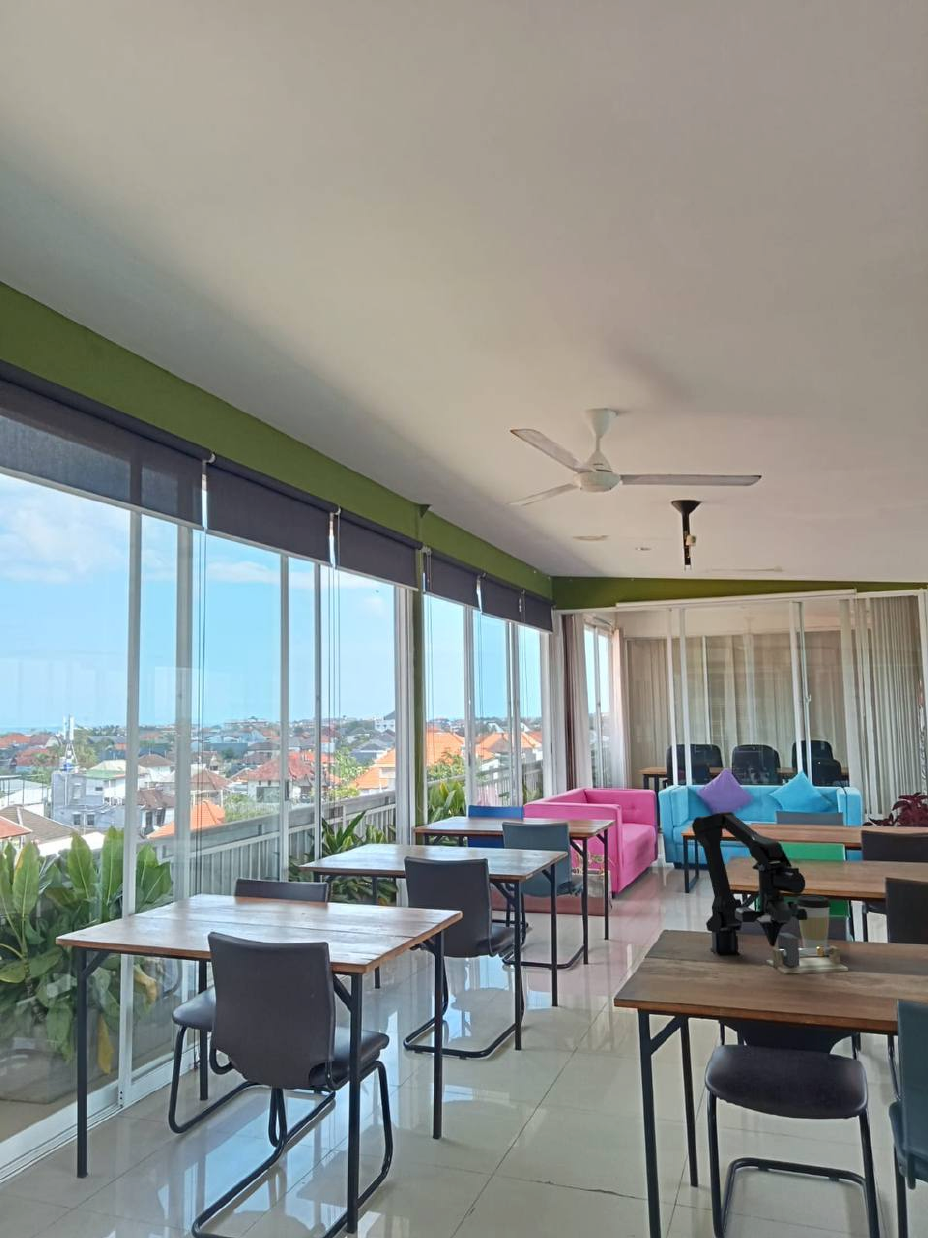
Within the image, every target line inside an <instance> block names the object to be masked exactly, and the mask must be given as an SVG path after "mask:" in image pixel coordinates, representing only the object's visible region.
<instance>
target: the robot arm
mask: <svg viewBox="0 0 928 1238" xmlns="http://www.w3.org/2000/svg"><path fill="white" fill-rule="evenodd" d="M691 828H692V831H693V834H694V837H695V839H696V841H697V842H698V844H699V845H700V846H701V847H702V848H703V852H704V856H705V862H706V865H707V866H706V867H707V870H708V872H709V873H708V874H709V875H708V876H709V879H710V882H711V887H712V893H713V896H714V898H713V901H712V906H711V914H712V915H711V916H710V918H709V919H708V920H707V921H706V922H705V925H706V929H707V931H708V932H711V943H712V944H711V945H712V947H710V951H712V952H713V953H715V954H716V955H718V956H727V955H739V954H740V951H739V937H738V935H737V931H741V928H742V923H755V922H757V923H759V924H760V927H761V929H762V930H763V932H764V935H765V936H766V939H767V941H768V943H769V945H770V947H775V946H776V943H777V941H778V934H779V933H780V931H781V929H782V927H783V926H784V925H786V924H788V923H789V922H790V921H791V920H792V917H794V919H796V920H797V921H799V920H808V913H807V911H806V910H805V909H804V908H802V907H799V906H797V903H796V900H791V901H790V900H789V901H785V898H784V897H785V896H784V893H783V892H785V893H788V894H789V893H790V894H795V895H800V894H801V893H803V892H804V891H805V887H806V879H805V877H804V875H803V874H802V873H801V872H800V869H799V867H795V866H794V867H793V866H792V864H791V862H790V859H789V857H788V856H787V855H786V853H785V851H784V849H783V846H782V844H781V843H780V842H779V841H777V840H775V839H773V838H771V837H767V836H764V835H761V834H760V833H758V832H756V831H755V830H754V829H752V828H751V827H750V826H749V825H747V824H746V823H745V822H743V821H742V820H741V819H740V818H738V817H737V816H735V813H733V811H729V810H728V811H726V810H725V811H718V812H715V813H714V814H712V815H708V816H707V815H706V816H697V817H695V818H694V820H693V822H692V825H691ZM723 830H725V831H727V832H728V833H729V834H731V835H732V836H733V837H734V838H735V839H736V840H738V841H740V842H741V843H742V844H743V845H745V847H746V848H748V850H749V854H750V856H751V857H752V858H753V859H754V860H755V861H756V863H755V864H754V865H753V866H752V869H753V870H756V871H758V872H757V873H758V889H756V891H757V894H758V895H759V904H757V910H754V909H753V908H750V907H743V906H742V900H741V899H739V898H738V899H737V898H736V897H735V896H734V894H733V893H732V890H731V886H730V881H729V878H728V873H727V869H726V865H725V861H724V856H723V853H722V848H721V843H722V839H723V835H724V834H723Z"/></svg>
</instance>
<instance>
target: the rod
mask: <svg viewBox="0 0 928 1238" xmlns="http://www.w3.org/2000/svg"><path fill="white" fill-rule="evenodd" d="M780 950H781V951H782V957H786V949H780ZM773 951H774V952H775V955H774V957H776V955H777V954H776V951H775V950H773ZM833 954H834V951H833V948H832V947H829V946H827V947H816V948H804V947H802V948H800V947H799V957H809V956H810V957H811V956H812V957H813V956H814V957H815V956H816V957H817V956H818V957H822V956H823V957H824V956H829V955H833Z"/></svg>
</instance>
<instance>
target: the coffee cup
mask: <svg viewBox="0 0 928 1238" xmlns="http://www.w3.org/2000/svg"><path fill="white" fill-rule="evenodd" d="M795 902H796V903H797V906H799V907H802V908H804V909H805V910H806V911H807V913H808V920H798V923H799V929H800V936H801V938H802V939H801V940H802V944H803V948H816V947H828V938H829V924H830V907H832V905H831V902H830V900H829V898H828V897H826V896H822V895H816V894H814V895H813V894H804V895H803V894H802V895H799V896H797V899H796V900H795Z"/></svg>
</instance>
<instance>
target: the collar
mask: <svg viewBox="0 0 928 1238" xmlns="http://www.w3.org/2000/svg"><path fill="white" fill-rule="evenodd" d="M799 946H800V945H799V938H798V937H797V936H795V935H793V934H791V933H789V932H779V934H778V937H777V948H778V949H786V957H782V961H783V963H784V964H786V965H787V966H789V967H791V966H800V965H799V958H800V956H799V948H800V947H799Z"/></svg>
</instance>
